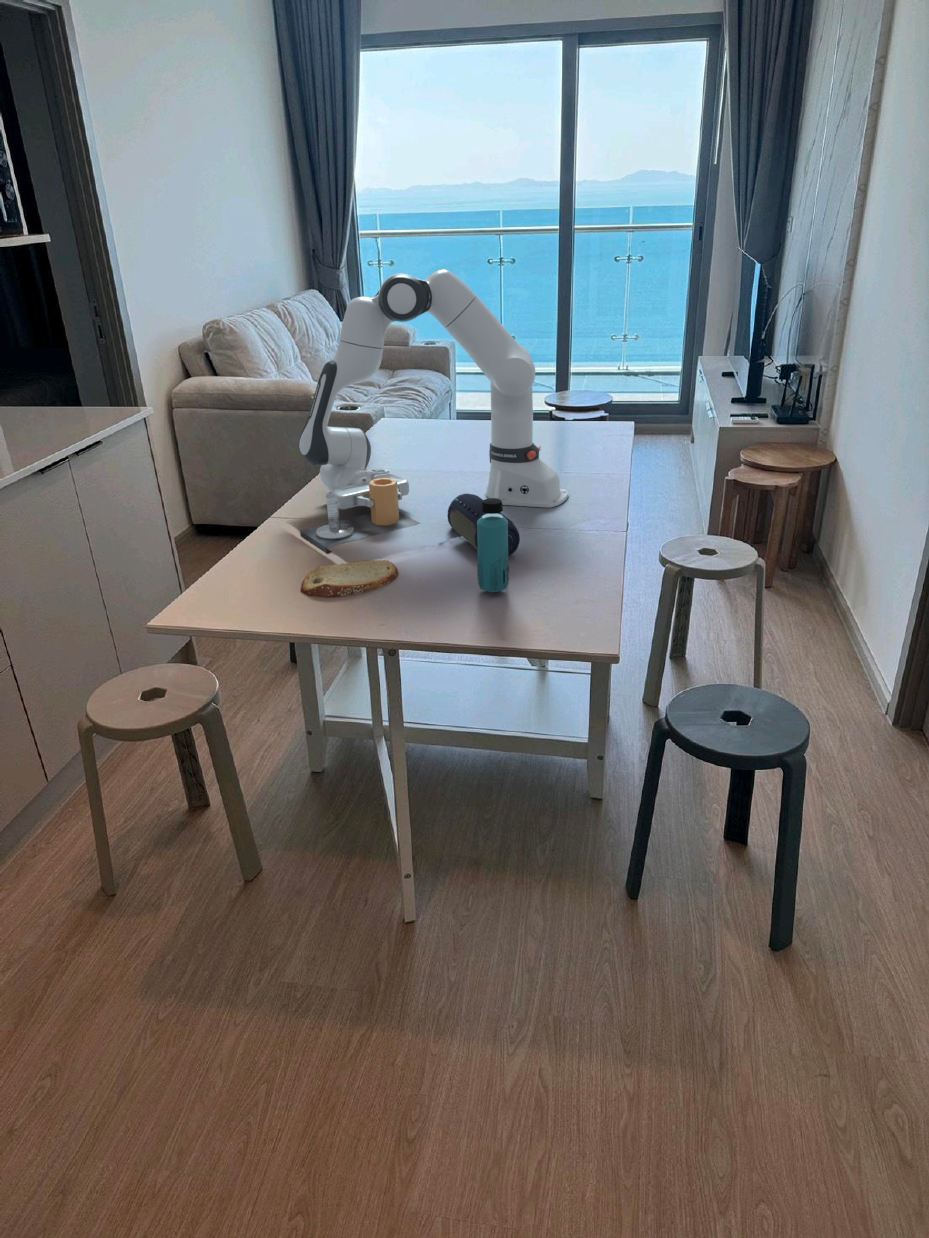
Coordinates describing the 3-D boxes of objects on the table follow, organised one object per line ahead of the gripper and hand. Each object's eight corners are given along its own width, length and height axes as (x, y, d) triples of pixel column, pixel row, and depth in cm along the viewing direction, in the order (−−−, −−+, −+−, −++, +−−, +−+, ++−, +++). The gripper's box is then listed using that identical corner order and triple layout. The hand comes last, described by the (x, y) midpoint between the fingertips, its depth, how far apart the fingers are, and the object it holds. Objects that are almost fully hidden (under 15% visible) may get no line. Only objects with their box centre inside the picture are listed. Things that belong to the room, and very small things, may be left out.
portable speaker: (442, 531, 204) (441, 492, 200) (479, 525, 208) (479, 486, 203) (483, 568, 184) (483, 525, 179) (524, 560, 187) (524, 518, 182)
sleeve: (390, 514, 211) (387, 476, 207) (403, 521, 206) (401, 482, 202) (367, 519, 208) (365, 481, 203) (380, 527, 203) (378, 487, 199)
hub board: (392, 513, 216) (389, 474, 211) (420, 529, 206) (419, 487, 201) (300, 536, 203) (295, 494, 198) (326, 553, 192) (322, 510, 188)
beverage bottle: (506, 600, 169) (506, 506, 160) (474, 597, 170) (472, 504, 161) (511, 586, 174) (511, 495, 165) (480, 584, 176) (479, 494, 166)
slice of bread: (404, 570, 184) (403, 555, 182) (373, 605, 168) (372, 588, 167) (330, 563, 189) (328, 548, 187) (293, 596, 173) (291, 579, 171)
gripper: (321, 482, 207) (347, 496, 197) (391, 467, 218) (419, 480, 208) (323, 506, 210) (349, 521, 200) (393, 490, 221) (421, 504, 210)
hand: (385, 500), depth 204 cm, fingers closed on sleeve, 6 cm apart
